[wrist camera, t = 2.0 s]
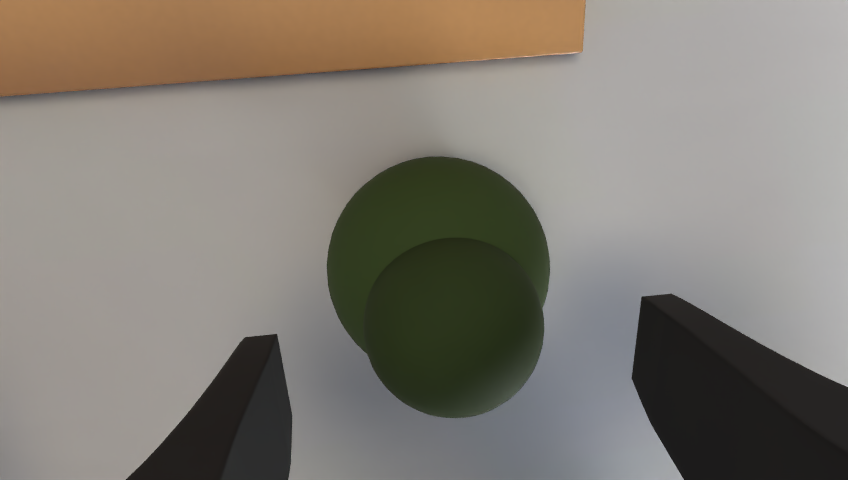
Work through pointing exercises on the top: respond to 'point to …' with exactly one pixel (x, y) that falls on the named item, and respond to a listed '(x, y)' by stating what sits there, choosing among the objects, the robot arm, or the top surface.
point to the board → (263, 38)
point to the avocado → (442, 284)
